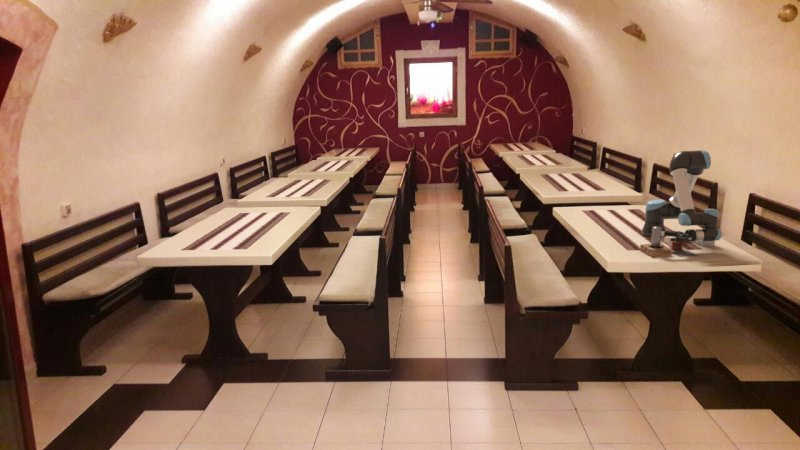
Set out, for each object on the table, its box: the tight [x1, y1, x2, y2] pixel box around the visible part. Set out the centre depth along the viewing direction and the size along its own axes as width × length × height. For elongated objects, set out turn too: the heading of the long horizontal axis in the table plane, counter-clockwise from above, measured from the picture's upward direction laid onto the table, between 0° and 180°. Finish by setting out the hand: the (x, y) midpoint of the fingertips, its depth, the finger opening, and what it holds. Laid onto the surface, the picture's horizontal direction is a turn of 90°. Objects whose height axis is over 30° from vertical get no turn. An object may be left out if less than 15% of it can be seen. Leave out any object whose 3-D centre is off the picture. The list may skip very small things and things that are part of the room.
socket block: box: [639, 243, 672, 258], centre depth 347 cm, size 14×12×4 cm
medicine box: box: [698, 241, 716, 247], centre depth 361 cm, size 8×4×9 cm, turn 92°
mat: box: [671, 250, 699, 258], centre depth 344 cm, size 12×12×1 cm
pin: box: [650, 227, 662, 248], centre depth 346 cm, size 5×5×16 cm
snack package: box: [664, 236, 683, 251], centre depth 361 cm, size 21×7×7 cm, turn 166°
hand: (658, 236), depth 346 cm, fingers open, 13 cm apart
